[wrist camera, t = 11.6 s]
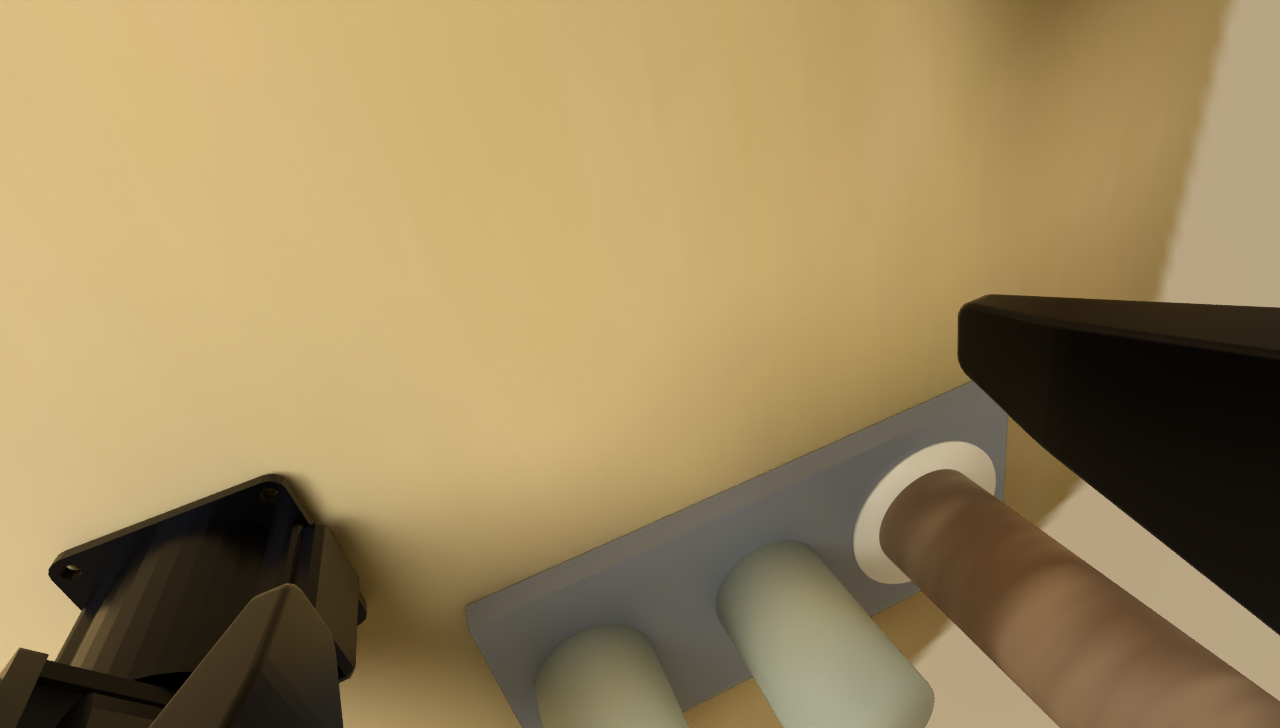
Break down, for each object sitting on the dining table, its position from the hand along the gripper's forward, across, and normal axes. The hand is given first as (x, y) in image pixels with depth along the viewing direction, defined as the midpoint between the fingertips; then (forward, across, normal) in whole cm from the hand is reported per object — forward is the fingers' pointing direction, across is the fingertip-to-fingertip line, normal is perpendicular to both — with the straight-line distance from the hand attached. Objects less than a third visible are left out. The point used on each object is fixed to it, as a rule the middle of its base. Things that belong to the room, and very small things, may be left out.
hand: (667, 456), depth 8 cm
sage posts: (+12, -2, +18) cm, 22 cm away
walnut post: (+12, -14, +18) cm, 25 cm away
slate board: (+13, -6, +18) cm, 23 cm away
